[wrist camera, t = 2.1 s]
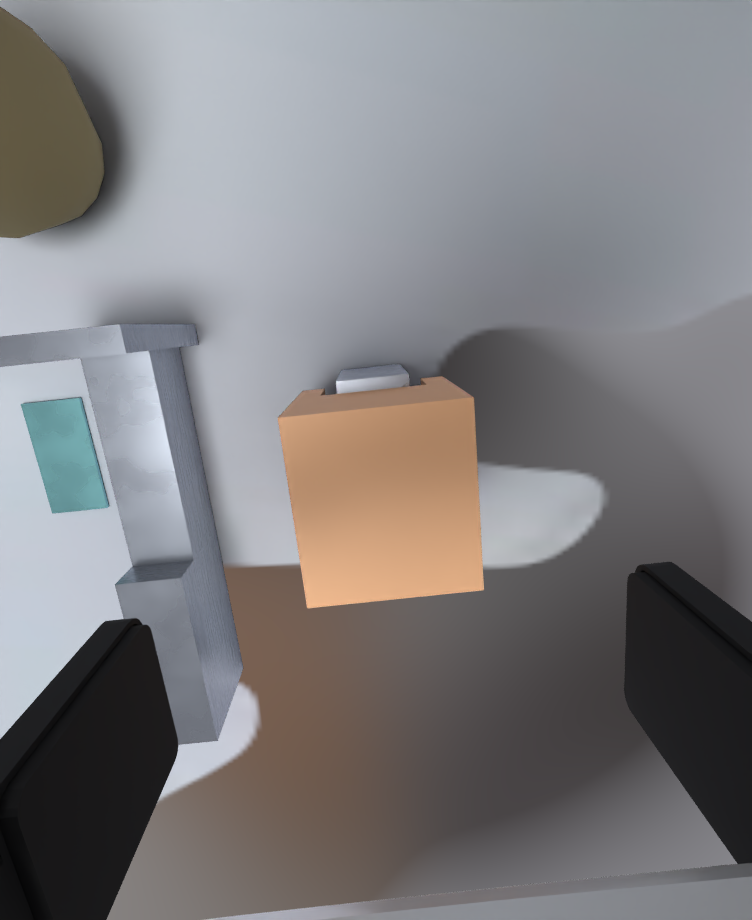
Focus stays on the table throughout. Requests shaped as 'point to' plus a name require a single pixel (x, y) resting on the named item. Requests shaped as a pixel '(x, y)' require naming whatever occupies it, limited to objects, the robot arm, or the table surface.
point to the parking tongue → (372, 378)
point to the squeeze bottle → (42, 137)
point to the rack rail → (144, 499)
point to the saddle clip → (384, 492)
